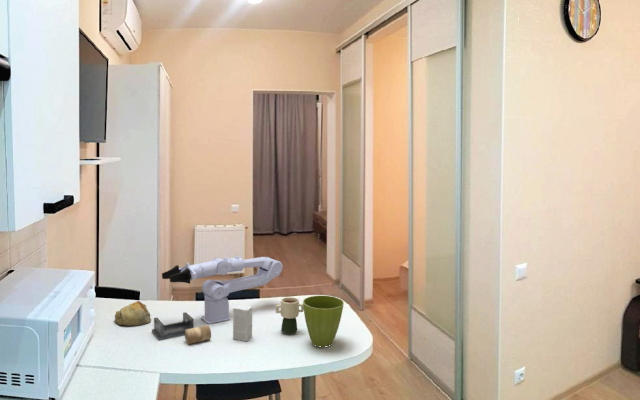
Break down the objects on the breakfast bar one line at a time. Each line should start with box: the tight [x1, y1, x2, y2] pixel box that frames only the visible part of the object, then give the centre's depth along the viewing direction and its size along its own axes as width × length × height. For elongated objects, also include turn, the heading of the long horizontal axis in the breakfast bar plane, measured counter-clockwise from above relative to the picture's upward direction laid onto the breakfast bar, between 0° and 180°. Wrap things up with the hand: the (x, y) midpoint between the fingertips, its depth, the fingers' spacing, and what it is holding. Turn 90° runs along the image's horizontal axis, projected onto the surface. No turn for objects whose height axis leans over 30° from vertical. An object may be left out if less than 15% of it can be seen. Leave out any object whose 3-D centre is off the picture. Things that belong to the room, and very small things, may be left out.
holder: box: [151, 311, 195, 341], centre depth 182 cm, size 14×9×6 cm, turn 125°
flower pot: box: [302, 295, 345, 348], centre depth 176 cm, size 15×15×16 cm
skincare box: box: [232, 304, 253, 342], centre depth 179 cm, size 6×4×12 cm
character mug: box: [275, 296, 304, 335], centre depth 186 cm, size 11×7×13 cm, turn 102°
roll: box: [184, 324, 212, 345], centre depth 176 cm, size 8×5×5 cm, turn 125°
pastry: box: [114, 300, 152, 327], centre depth 192 cm, size 14×12×8 cm
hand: (166, 277), depth 182 cm, fingers open, 7 cm apart
